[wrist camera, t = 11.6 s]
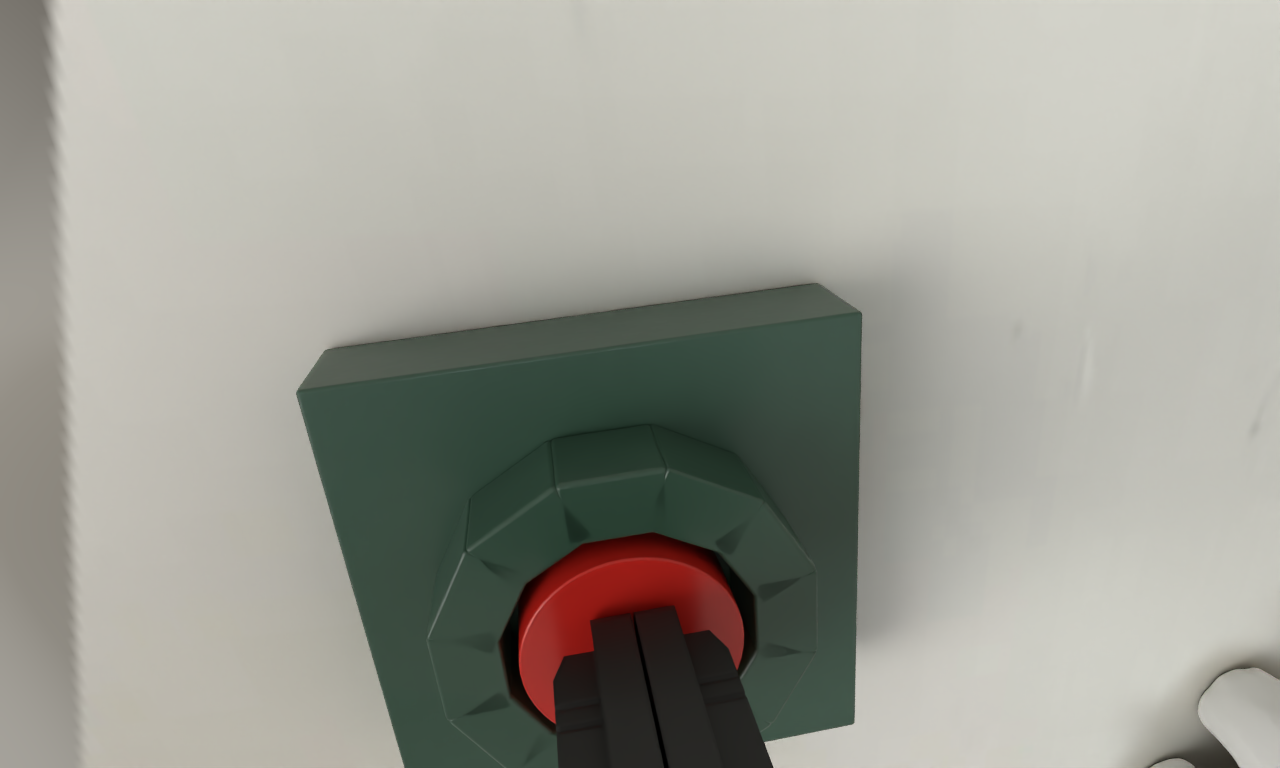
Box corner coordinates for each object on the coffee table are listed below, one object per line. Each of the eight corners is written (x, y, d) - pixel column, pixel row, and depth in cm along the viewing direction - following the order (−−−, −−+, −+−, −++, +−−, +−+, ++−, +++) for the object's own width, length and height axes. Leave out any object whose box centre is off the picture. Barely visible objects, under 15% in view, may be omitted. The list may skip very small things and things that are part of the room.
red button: (534, 690, 16) (536, 760, 14) (502, 523, 14) (501, 580, 12) (725, 654, 16) (749, 719, 14) (715, 488, 14) (740, 540, 13)
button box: (427, 733, 19) (405, 893, 15) (323, 348, 15) (261, 438, 11) (820, 658, 20) (890, 792, 16) (818, 282, 16) (911, 343, 12)
